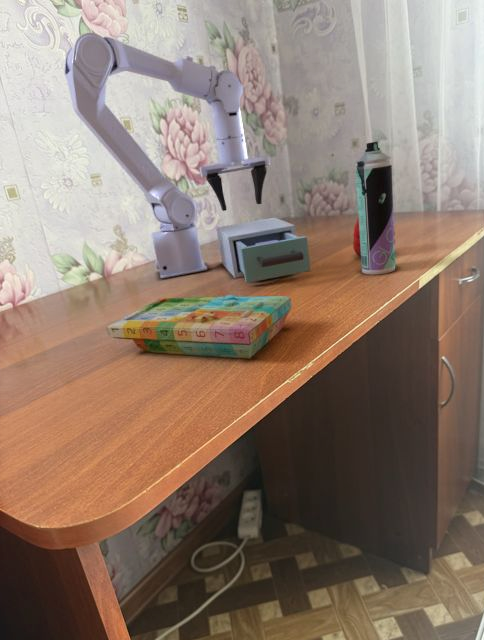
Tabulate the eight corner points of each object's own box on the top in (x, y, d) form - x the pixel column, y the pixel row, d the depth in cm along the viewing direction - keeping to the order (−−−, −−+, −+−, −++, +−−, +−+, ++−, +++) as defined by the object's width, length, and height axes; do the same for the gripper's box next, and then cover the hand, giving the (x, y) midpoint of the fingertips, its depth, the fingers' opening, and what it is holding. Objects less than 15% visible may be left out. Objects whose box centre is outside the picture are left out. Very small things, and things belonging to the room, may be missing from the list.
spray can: (386, 275, 80) (381, 141, 73) (356, 273, 83) (347, 145, 76) (400, 266, 84) (396, 138, 76) (370, 265, 87) (364, 142, 80)
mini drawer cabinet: (299, 265, 95) (294, 225, 92) (234, 278, 92) (228, 237, 90) (279, 253, 108) (274, 217, 105) (222, 263, 106) (216, 227, 103)
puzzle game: (247, 324, 53) (104, 320, 62) (253, 364, 54) (114, 355, 63) (289, 291, 62) (160, 291, 71) (293, 326, 64) (167, 322, 73)
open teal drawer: (318, 275, 82) (315, 240, 80) (251, 288, 80) (246, 253, 78) (288, 257, 98) (285, 227, 96) (232, 267, 97) (227, 237, 94)
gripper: (197, 143, 96) (211, 214, 102) (269, 131, 99) (279, 202, 104) (193, 144, 103) (206, 211, 108) (261, 133, 105) (270, 199, 110)
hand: (241, 206), depth 106 cm, fingers open, 7 cm apart
